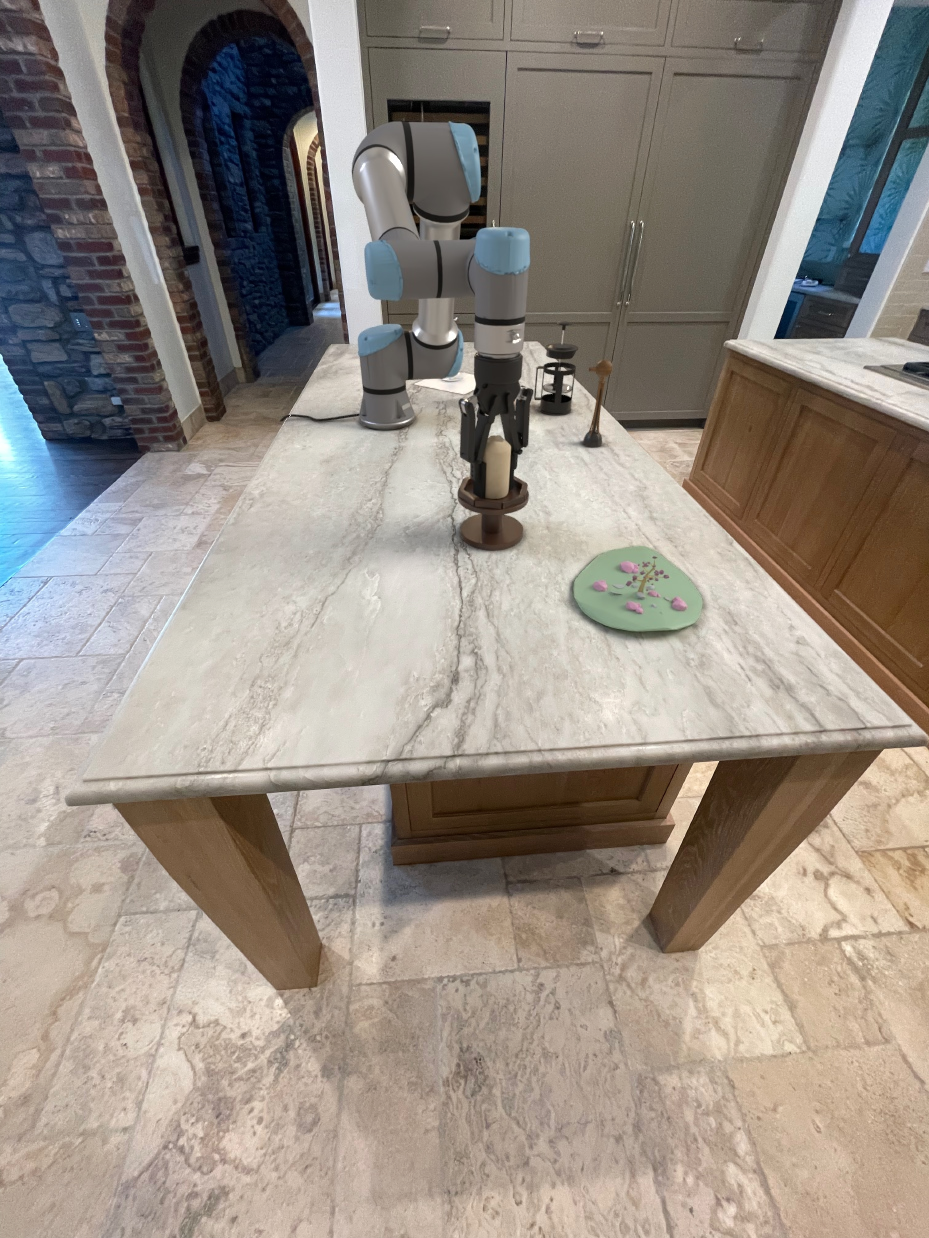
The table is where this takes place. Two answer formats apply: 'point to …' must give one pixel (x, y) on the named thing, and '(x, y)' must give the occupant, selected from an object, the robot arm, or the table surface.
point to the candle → (497, 467)
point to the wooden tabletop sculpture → (597, 404)
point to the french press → (557, 378)
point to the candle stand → (492, 516)
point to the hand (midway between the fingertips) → (493, 491)
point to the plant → (637, 591)
